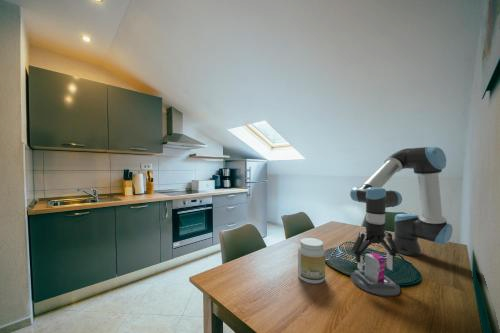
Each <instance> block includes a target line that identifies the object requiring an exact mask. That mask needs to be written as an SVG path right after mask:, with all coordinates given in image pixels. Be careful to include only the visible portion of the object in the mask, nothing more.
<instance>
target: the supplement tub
mask: <svg viewBox="0 0 500 333" xmlns="http://www.w3.org/2000/svg"><path fill="white" fill-rule="evenodd" d="M324 246H325V245H324V242H323V240H320V239H318V238H313V237H303V238H301V239H300V243H299V246H298V249H297V253H298V254H297V275H298V277H299V278H300V280H302V281H304V282H305V283H308V284H320V283H322V282H324V281H325V278H326V250H325V248H324Z"/></svg>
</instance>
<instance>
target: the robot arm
mask: <svg viewBox="0 0 500 333" xmlns="http://www.w3.org/2000/svg"><path fill="white" fill-rule="evenodd" d="M446 166H447V157H446V153H445V152H444V151H443V149H442V148H440V147H438V146H435V147H434V146H426V147H425V146H423V147H410V148H409V147H408V148H403V149H400V150H398V151H396V152H394V153H392V154H391V155H389V156H388V157H387V158H386V159H385V160H384V161H383V164H382V165H381V166H380V167H379V168H378V169H377V170H376V171H375V172H374V173H373V174H372V175H371V176H370V177H369V178H368V179H366V181H365V182H364V183H363V184H362V185H361V186H360V187H359V186H355V187H352V188H351V190H350V191H349V192H350V193H349V195H350V199H351V200H352V201H354V202H357V203H363V204H365V232H361V231H359V232H358V236H357V239H356V240H355V243H354V245H352V246H353V247H352V248H351V253H353V254H354V255H355V261H356V262H357V270H361V271H362V270H364V269H363V266H364V265H363V263H364V262H363V260H364V259H363V257H364V256H363V255H362V254H363V253H364V252H365V251H366V250H367V248H368V247H369V246H370V245H371V244H381V245H382V246H383V247H384V249H385V250H386V251H387V253H386V268H387V269H388V270H390V271H393V263H394V261H395V257H396V256H397V255H398V254H401V255H405V256H412V257H418V256H419V257H420V256H421V255H422V249H421V245H420V243H419V241H418V240H419V239H420V240H424V241H429V242H432V243H435V244H441V245H446V244H447V243H449V241H450V240H451V237H452V235H453V230H454V229H453V225H452V224H451V223H448V221H447V218H446V217H445V216H443V210H442V208H443V207H442V199H441V198H442V197H441V190H440V180H439V178H440V177H439V174H441V173H442V172H443V170H444V169H445V168H446ZM403 169H413V173H414V174H416V175H417V180H418V189H419V199H420V208H421V215H420V216H419V215H418V214H413V213H398V214H395V215H394V235H392V233H391V232H388V231H386V210H387V209H386V208H394V207H398V206H399V205H401V204H402V202H403V196H402V194H401V193H400V192H398V191H396V190H391V189H390V190H386V189H385V188H384V187H383V186H385V184H387V183H388V181H390V179H392V177H393V176H394V175H395V174H396V173H399V172H401V170H403ZM393 236H394V237H393ZM385 238H386V240H385ZM387 242H388V244H387Z"/></svg>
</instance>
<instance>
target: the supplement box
mask: <svg viewBox="0 0 500 333" xmlns="http://www.w3.org/2000/svg"><path fill="white" fill-rule="evenodd" d="M385 265H386V257H384V256H382V255H380V254H378V253H375V252H371V253H365V257H364V270H365V273H364V277H365V278H366V279H368V280H369V281H370V282H384V275H385V267H386V266H385Z"/></svg>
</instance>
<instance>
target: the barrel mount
mask: <svg viewBox="0 0 500 333" xmlns="http://www.w3.org/2000/svg"><path fill="white" fill-rule="evenodd" d="M364 273H365V269H362V271H361V270H359V269H355V270H354V271H353V272H351V273H350V281H351V282H352V284H354V285H355V286H356V287H357V288H359V289H360V290H362V291H364V292H366V293H369V294H372V295H375V296H379V297H387V298H390V297H392V298H393V297H397V296H398V295H400V293H401V287H400V285H399V283H397V281H395V280H394V279H393V278H391V277H389V276H388V275H385V274H384V282H370V281H369V280H368V279H366V278H365V277H364ZM396 283H397V284H396Z"/></svg>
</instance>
